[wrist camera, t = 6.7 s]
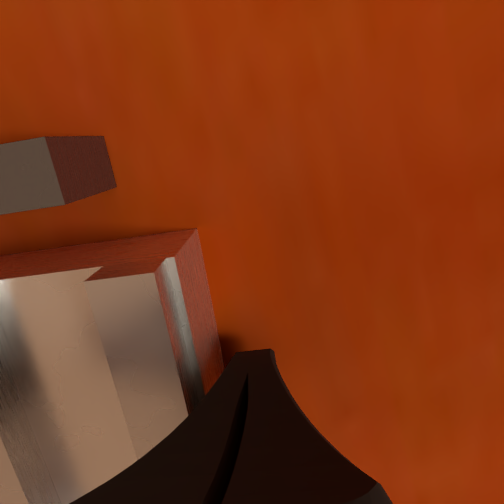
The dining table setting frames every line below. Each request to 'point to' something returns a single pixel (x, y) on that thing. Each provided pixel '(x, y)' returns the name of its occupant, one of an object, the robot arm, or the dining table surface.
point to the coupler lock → (99, 359)
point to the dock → (52, 172)
